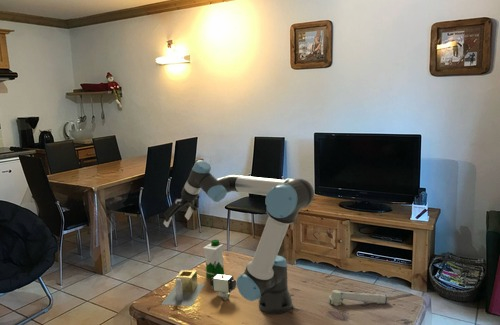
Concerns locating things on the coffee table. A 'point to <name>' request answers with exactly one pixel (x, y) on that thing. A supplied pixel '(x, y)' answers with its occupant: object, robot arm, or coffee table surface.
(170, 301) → the post plate
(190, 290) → the collar
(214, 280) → the pneumatic valve
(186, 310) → the coffee table surface
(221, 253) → the milk carton
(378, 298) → the beige knobbed bar
